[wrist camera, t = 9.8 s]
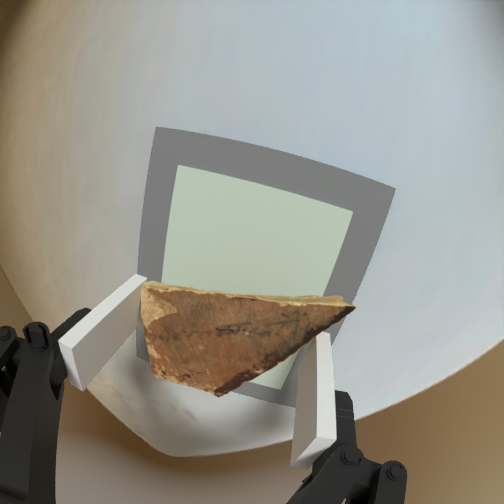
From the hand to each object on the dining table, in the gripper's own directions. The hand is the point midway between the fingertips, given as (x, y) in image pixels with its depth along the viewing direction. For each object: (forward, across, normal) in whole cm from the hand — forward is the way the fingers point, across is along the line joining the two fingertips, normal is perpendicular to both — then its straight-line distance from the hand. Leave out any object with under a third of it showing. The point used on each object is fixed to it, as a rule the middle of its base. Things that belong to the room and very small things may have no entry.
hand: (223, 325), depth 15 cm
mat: (+4, 0, 0) cm, 4 cm away
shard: (+1, 0, 0) cm, 1 cm away
